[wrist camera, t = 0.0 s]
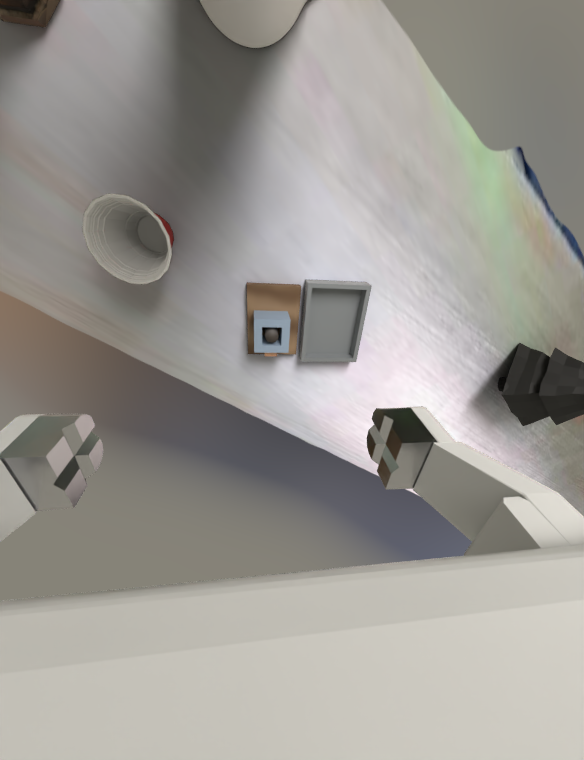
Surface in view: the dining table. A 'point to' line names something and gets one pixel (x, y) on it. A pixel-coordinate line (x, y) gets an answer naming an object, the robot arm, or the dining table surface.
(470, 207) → the dining table surface
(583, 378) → the decorative tree
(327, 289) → the tray
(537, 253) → the dining table surface
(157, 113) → the dining table surface
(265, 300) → the board
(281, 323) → the collar
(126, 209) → the plastic cup
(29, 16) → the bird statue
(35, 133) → the dining table surface
